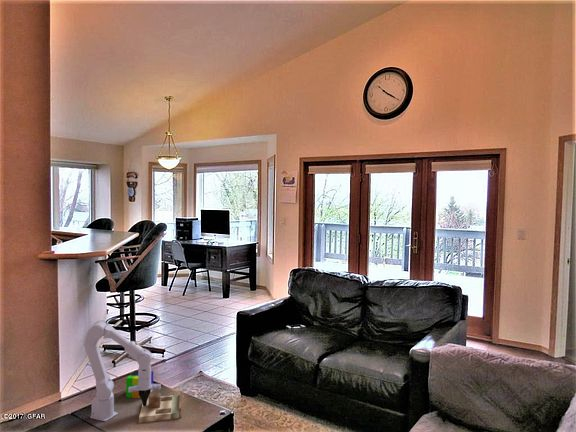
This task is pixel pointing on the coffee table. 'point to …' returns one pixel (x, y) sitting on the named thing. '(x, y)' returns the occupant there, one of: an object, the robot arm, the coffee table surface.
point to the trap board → (163, 409)
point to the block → (154, 400)
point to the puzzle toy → (134, 384)
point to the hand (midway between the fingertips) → (144, 405)
